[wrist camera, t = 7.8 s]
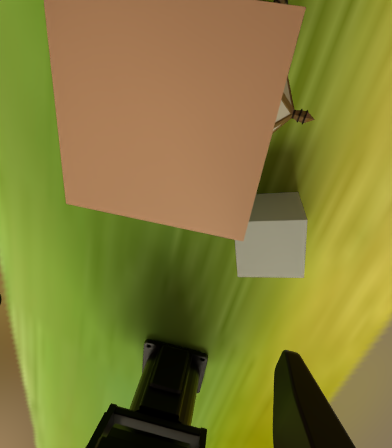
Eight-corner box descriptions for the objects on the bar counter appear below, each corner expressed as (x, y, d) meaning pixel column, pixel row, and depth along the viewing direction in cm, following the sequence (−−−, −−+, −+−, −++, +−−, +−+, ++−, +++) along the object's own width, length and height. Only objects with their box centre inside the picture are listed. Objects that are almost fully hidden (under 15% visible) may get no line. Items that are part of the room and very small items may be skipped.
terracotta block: (247, 185, 11) (243, 241, 8) (123, 161, 11) (65, 203, 8) (285, 29, 8) (305, 7, 5) (123, 6, 9) (40, -31, 5)
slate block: (295, 242, 21) (303, 277, 17) (240, 243, 22) (237, 276, 18) (297, 191, 19) (307, 219, 16) (237, 194, 20) (233, 222, 16)
